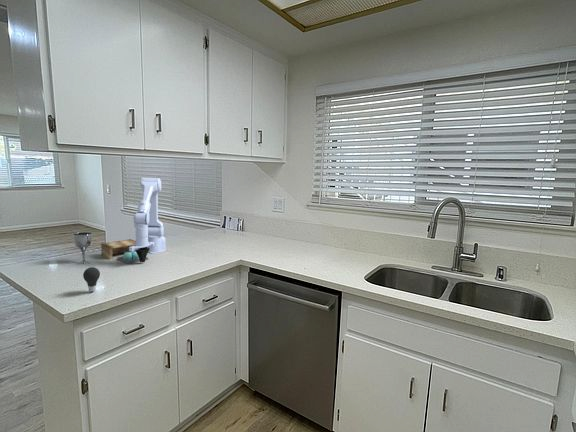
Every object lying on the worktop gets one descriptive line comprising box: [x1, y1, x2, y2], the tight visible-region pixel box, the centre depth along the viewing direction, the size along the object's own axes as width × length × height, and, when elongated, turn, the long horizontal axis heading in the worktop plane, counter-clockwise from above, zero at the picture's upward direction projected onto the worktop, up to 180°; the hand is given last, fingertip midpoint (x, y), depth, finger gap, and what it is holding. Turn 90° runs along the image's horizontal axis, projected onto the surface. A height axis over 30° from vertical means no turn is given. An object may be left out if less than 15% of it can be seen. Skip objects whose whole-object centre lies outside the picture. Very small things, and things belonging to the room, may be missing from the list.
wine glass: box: [72, 231, 93, 265], centre depth 159 cm, size 8×8×15 cm
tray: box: [116, 255, 149, 265], centre depth 168 cm, size 11×11×2 cm
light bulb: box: [82, 266, 101, 293], centre depth 124 cm, size 6×6×10 cm
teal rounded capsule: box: [123, 251, 132, 261], centre depth 166 cm, size 4×4×4 cm
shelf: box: [100, 239, 136, 260], centre depth 175 cm, size 16×10×7 cm, turn 143°
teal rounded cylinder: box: [131, 251, 139, 260], centre depth 169 cm, size 4×4×4 cm
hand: (142, 261), depth 162 cm, fingers closed
